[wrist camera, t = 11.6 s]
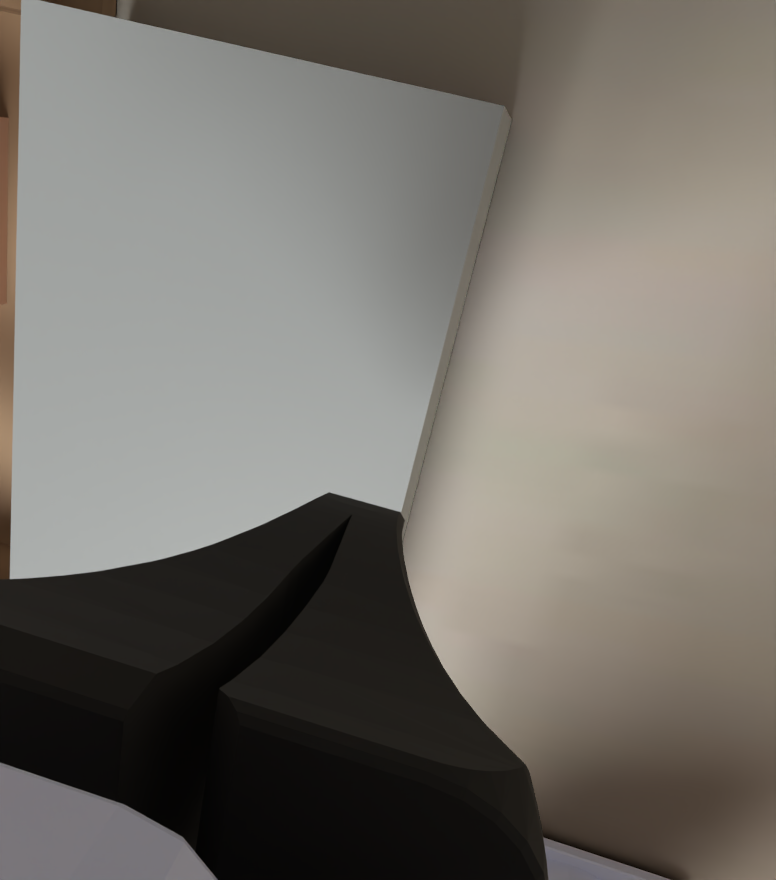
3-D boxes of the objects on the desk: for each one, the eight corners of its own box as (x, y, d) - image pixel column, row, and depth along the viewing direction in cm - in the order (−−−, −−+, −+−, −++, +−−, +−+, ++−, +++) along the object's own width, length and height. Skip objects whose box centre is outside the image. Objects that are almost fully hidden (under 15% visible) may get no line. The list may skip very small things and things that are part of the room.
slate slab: (374, 651, 23) (342, 741, 20) (89, 562, 24) (8, 632, 21) (511, 120, 17) (504, 106, 14) (125, 31, 18) (21, -4, 15)
